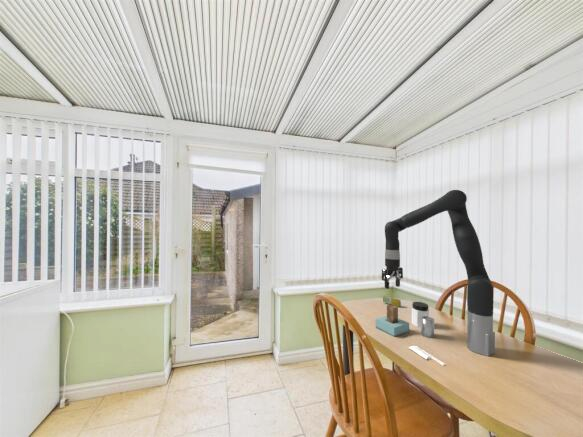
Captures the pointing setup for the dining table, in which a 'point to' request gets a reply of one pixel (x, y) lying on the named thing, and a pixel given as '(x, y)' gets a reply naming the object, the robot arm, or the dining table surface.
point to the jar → (419, 312)
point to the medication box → (392, 301)
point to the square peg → (392, 314)
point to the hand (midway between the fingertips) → (392, 287)
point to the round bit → (427, 327)
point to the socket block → (392, 326)
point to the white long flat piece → (424, 354)
